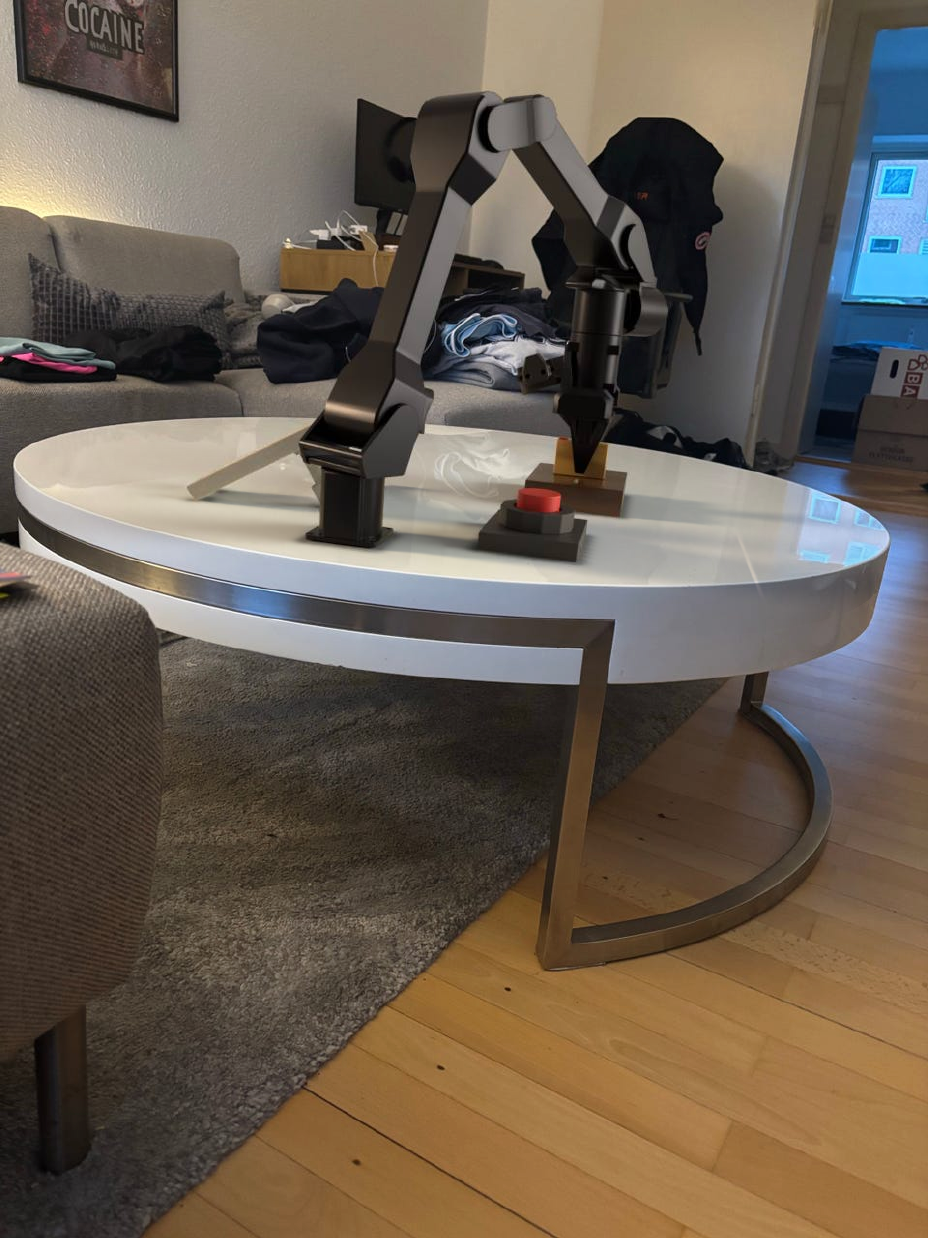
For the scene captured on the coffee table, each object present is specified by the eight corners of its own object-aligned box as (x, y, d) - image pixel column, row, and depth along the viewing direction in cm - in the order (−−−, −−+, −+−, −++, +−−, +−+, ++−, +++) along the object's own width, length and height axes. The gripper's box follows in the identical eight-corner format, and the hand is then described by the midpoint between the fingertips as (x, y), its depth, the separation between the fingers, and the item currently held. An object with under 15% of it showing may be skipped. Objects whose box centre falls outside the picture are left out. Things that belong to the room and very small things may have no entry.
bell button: (556, 517, 84) (558, 498, 83) (513, 512, 85) (515, 493, 84) (560, 509, 88) (562, 491, 87) (519, 504, 88) (521, 486, 88)
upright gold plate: (604, 477, 108) (609, 441, 107) (604, 479, 107) (608, 442, 106) (554, 471, 109) (558, 435, 108) (553, 473, 108) (557, 437, 107)
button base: (576, 562, 81) (581, 524, 80) (477, 549, 83) (480, 511, 82) (585, 536, 92) (589, 501, 90) (497, 525, 93) (500, 491, 92)
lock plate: (620, 517, 102) (623, 489, 101) (522, 505, 104) (525, 478, 103) (624, 496, 115) (627, 470, 114) (537, 485, 117) (540, 461, 116)
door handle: (225, 557, 94) (397, 475, 90) (185, 486, 92) (360, 400, 88) (269, 517, 111) (416, 447, 107) (236, 456, 108) (385, 382, 105)
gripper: (536, 327, 113) (524, 454, 118) (513, 328, 96) (499, 476, 101) (627, 335, 111) (610, 463, 116) (619, 337, 94) (600, 488, 99)
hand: (580, 471), depth 108 cm, fingers closed on upright gold plate, 2 cm apart
